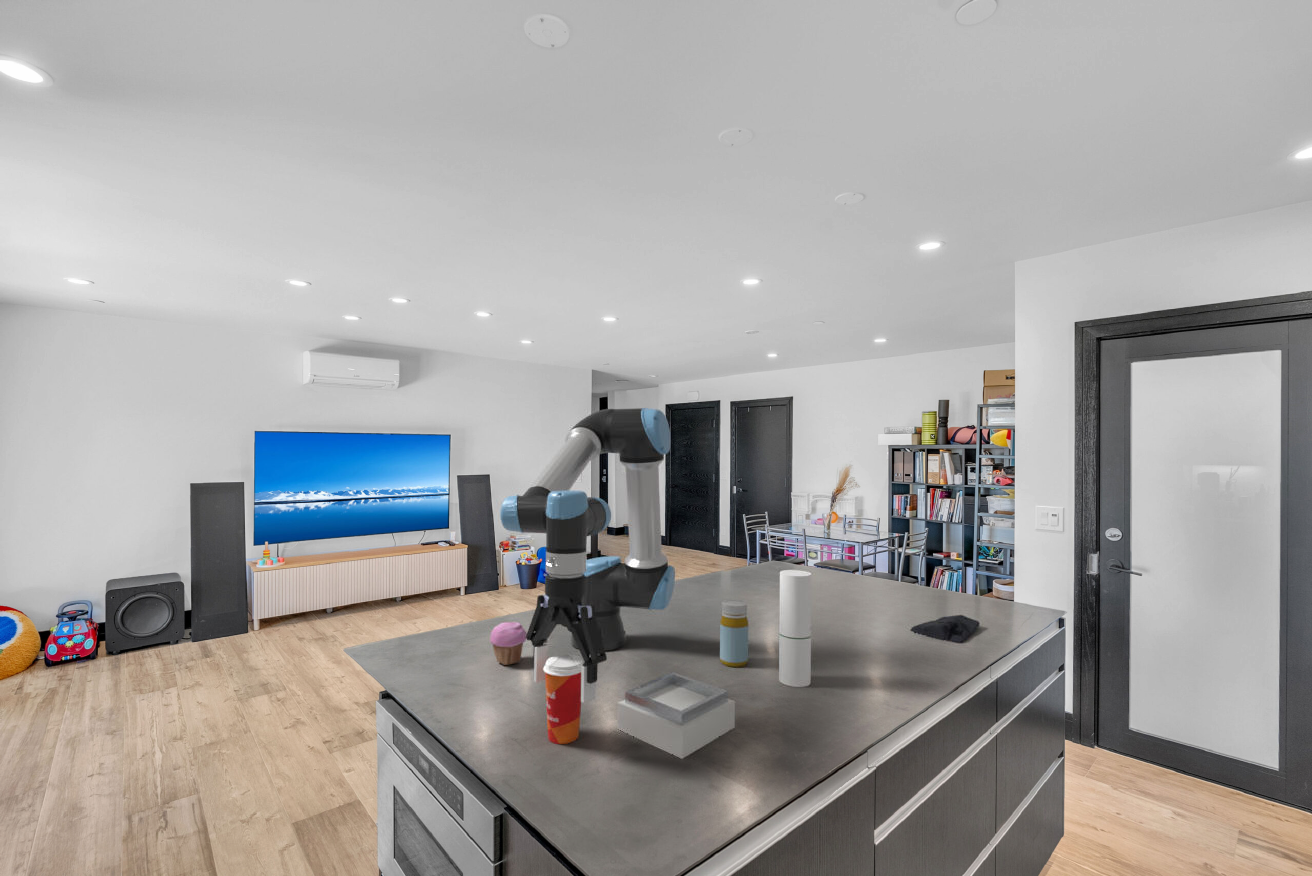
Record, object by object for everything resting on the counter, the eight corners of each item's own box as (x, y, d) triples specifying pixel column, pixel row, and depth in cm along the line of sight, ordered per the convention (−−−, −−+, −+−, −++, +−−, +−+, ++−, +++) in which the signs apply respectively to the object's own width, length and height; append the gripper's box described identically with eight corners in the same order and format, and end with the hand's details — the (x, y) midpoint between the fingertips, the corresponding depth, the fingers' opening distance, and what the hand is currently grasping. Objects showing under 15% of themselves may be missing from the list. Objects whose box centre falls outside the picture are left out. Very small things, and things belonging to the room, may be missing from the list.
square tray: (617, 728, 113) (617, 691, 113) (671, 702, 125) (671, 669, 125) (682, 758, 102) (682, 717, 102) (734, 727, 114) (735, 690, 114)
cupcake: (532, 662, 148) (533, 622, 148) (502, 671, 141) (503, 629, 141) (512, 654, 154) (513, 615, 154) (482, 662, 147) (483, 622, 147)
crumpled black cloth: (989, 631, 180) (989, 615, 180) (959, 646, 165) (959, 629, 165) (938, 620, 191) (938, 605, 191) (906, 633, 177) (906, 617, 177)
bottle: (747, 668, 145) (747, 607, 145) (718, 666, 146) (719, 605, 147) (748, 659, 152) (749, 600, 152) (721, 656, 153) (721, 598, 153)
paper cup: (544, 727, 113) (545, 653, 113) (585, 726, 114) (586, 653, 114) (540, 748, 105) (541, 668, 106) (583, 746, 106) (584, 668, 106)
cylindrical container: (811, 677, 140) (812, 571, 140) (809, 688, 133) (809, 577, 134) (781, 673, 142) (781, 568, 143) (777, 684, 135) (777, 574, 136)
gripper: (509, 567, 116) (507, 677, 115) (596, 587, 99) (593, 716, 98) (540, 562, 121) (538, 667, 121) (627, 581, 105) (625, 702, 104)
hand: (563, 689), depth 109 cm, fingers open, 13 cm apart
